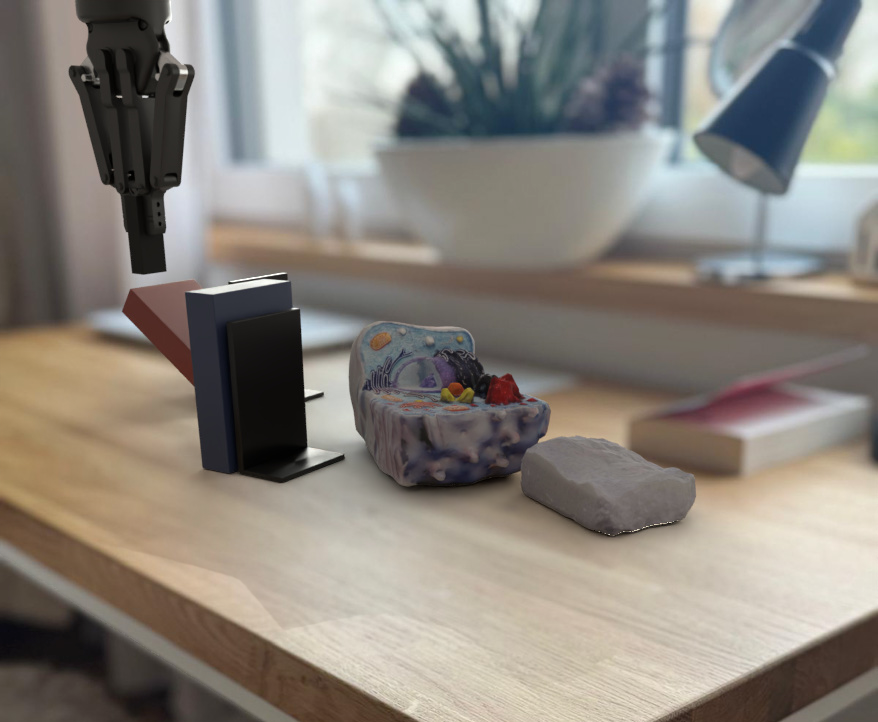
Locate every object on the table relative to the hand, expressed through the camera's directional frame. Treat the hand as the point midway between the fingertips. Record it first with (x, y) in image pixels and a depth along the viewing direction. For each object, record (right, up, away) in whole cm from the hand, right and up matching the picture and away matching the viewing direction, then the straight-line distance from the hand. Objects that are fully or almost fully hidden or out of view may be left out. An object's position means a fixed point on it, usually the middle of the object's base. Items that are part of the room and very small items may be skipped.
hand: (149, 272), depth 96 cm
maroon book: (0, -3, +18) cm, 18 cm away
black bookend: (+10, -9, +14) cm, 19 cm away
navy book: (+9, -10, -7) cm, 16 cm away
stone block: (+38, -22, -17) cm, 47 cm away
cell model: (+25, -18, -7) cm, 32 cm away
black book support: (+14, -18, -8) cm, 24 cm away
